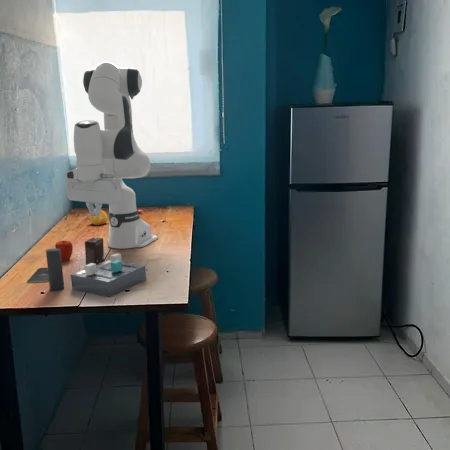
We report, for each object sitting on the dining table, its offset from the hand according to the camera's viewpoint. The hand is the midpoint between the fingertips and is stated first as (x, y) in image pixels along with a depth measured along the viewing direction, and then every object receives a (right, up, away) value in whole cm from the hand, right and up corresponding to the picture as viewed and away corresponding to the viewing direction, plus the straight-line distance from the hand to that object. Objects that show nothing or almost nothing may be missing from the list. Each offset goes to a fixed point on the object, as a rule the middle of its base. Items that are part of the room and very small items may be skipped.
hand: (95, 215), depth 173 cm
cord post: (-13, -24, +1) cm, 27 cm away
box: (-3, -20, +16) cm, 26 cm away
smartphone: (-22, -21, +15) cm, 34 cm away
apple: (-19, -17, +32) cm, 41 cm away
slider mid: (+7, -18, 0) cm, 19 cm away
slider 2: (+5, -16, +8) cm, 19 cm away
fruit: (-20, -3, +90) cm, 92 cm away
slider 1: (-1, -19, -2) cm, 19 cm away
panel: (+4, -23, +3) cm, 23 cm away
